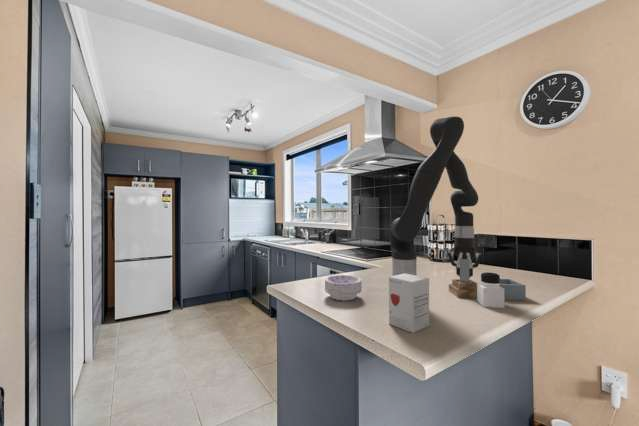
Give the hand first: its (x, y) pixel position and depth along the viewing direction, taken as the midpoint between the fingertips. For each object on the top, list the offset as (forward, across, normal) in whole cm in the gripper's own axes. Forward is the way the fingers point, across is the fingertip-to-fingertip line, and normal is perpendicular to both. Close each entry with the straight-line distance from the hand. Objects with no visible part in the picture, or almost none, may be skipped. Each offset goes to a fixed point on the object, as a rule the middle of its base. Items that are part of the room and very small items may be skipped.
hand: (464, 276), depth 120 cm
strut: (+4, 0, 0) cm, 4 cm away
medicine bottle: (+8, +8, -12) cm, 16 cm away
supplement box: (+8, -16, -45) cm, 49 cm away
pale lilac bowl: (+8, -45, -27) cm, 53 cm away
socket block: (+8, 0, 0) cm, 8 cm away
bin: (+8, +15, +4) cm, 17 cm away
